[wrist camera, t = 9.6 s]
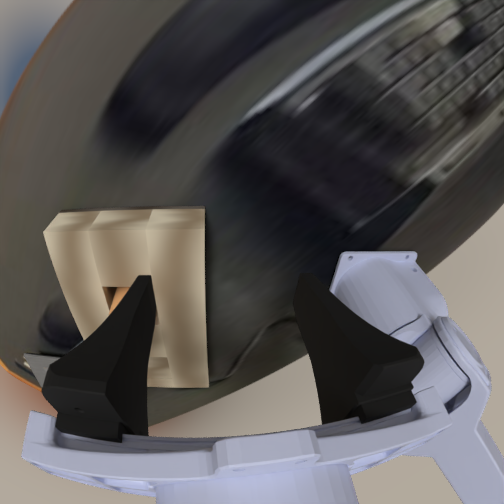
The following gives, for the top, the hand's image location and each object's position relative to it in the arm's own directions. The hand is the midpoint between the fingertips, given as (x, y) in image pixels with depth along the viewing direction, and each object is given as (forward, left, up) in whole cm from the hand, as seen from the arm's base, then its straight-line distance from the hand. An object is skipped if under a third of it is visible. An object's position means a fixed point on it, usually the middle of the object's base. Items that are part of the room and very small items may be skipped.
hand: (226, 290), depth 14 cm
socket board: (+7, +10, -9) cm, 15 cm away
